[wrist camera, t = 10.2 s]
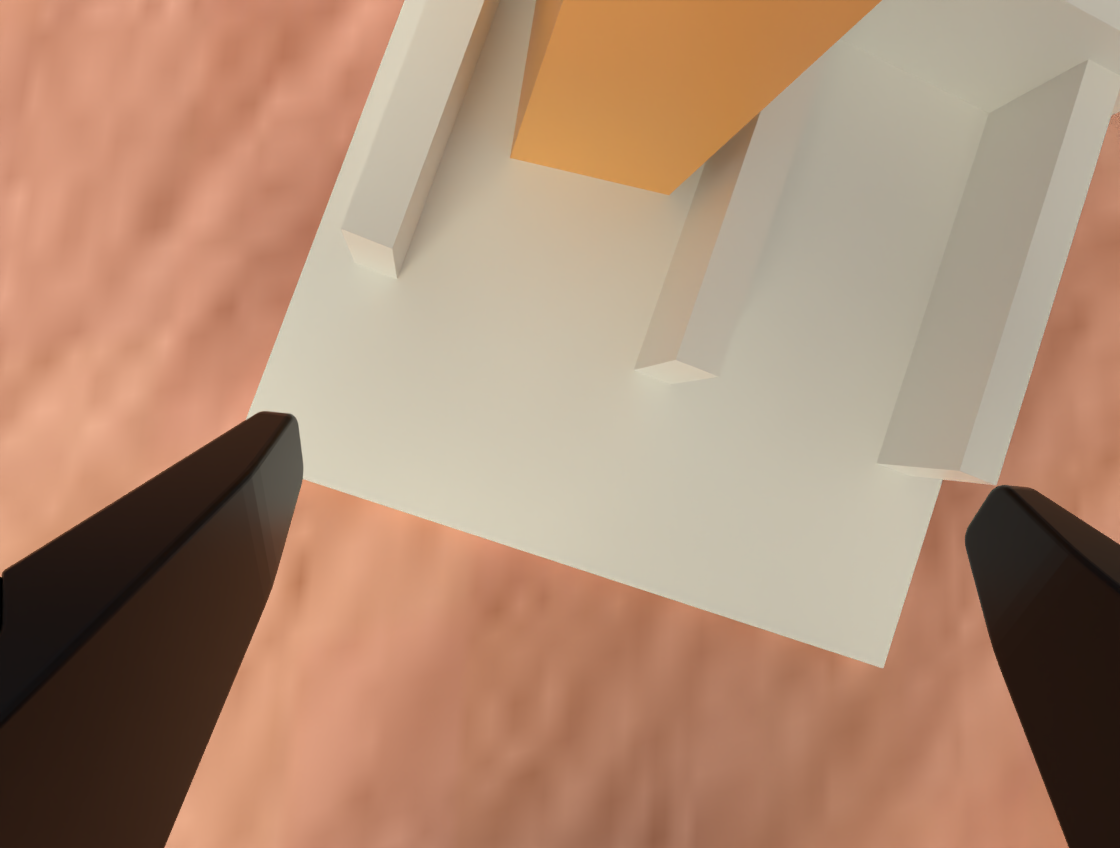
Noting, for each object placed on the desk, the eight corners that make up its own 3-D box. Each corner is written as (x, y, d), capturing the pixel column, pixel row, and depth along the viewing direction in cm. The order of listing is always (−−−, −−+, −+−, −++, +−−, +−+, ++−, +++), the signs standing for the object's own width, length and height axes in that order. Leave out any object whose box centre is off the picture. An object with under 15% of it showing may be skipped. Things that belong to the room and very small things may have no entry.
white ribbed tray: (869, 661, 20) (1002, 731, 15) (238, 454, 17) (171, 466, 12) (1061, 54, 21) (1238, -47, 16) (501, -242, 18) (529, -467, 13)
